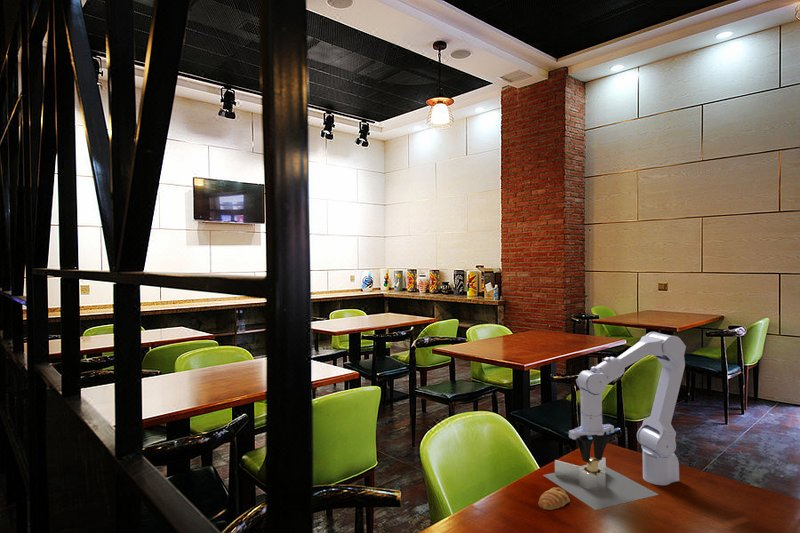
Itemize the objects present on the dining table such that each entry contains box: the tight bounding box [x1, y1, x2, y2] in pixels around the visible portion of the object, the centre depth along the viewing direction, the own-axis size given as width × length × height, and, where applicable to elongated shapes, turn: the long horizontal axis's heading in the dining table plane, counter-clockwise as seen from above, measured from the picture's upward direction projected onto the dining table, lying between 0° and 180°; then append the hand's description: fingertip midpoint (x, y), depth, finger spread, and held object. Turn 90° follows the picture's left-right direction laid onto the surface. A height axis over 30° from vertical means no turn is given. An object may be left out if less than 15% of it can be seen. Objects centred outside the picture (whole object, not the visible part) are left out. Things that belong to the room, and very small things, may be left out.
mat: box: [542, 466, 659, 511], centre depth 138 cm, size 22×22×1 cm
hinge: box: [554, 456, 607, 492], centre depth 141 cm, size 16×13×4 cm
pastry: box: [538, 487, 571, 511], centre depth 128 cm, size 9×7×4 cm
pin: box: [586, 456, 599, 474], centre depth 137 cm, size 3×3×6 cm
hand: (592, 460), depth 137 cm, fingers open, 4 cm apart
